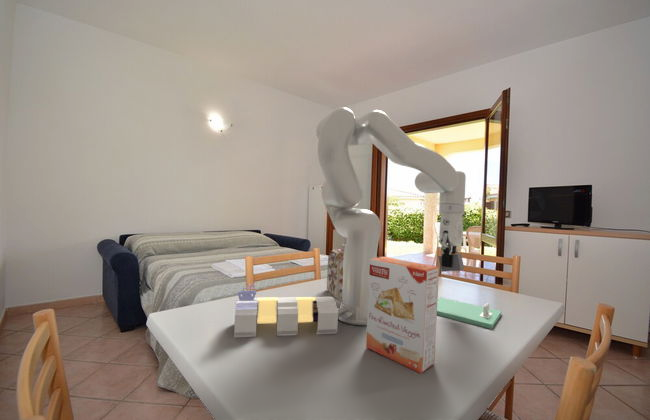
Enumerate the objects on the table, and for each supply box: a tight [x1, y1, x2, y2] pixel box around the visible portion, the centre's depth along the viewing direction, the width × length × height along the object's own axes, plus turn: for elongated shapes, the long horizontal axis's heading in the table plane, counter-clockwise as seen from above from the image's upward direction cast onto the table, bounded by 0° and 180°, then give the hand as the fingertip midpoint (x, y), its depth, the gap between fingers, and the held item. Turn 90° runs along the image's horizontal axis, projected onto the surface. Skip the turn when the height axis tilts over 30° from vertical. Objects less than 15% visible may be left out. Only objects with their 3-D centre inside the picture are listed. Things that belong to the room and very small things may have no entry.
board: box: [437, 297, 502, 330], centre depth 95 cm, size 15×19×4 cm
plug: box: [437, 252, 465, 273], centre depth 98 cm, size 4×6×5 cm, turn 51°
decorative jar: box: [326, 243, 346, 300], centre depth 111 cm, size 12×12×18 cm
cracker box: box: [365, 256, 440, 374], centre depth 66 cm, size 14×6×21 cm, turn 45°
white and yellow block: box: [233, 283, 339, 338], centre depth 79 cm, size 25×10×13 cm, turn 100°
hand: (449, 265), depth 98 cm, fingers closed on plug, 4 cm apart
